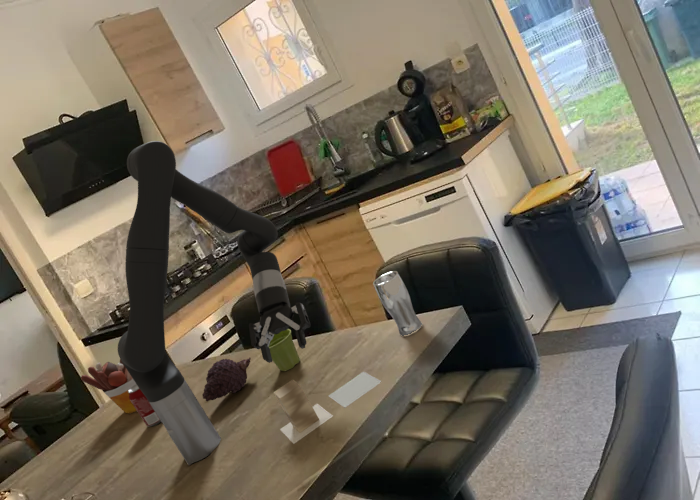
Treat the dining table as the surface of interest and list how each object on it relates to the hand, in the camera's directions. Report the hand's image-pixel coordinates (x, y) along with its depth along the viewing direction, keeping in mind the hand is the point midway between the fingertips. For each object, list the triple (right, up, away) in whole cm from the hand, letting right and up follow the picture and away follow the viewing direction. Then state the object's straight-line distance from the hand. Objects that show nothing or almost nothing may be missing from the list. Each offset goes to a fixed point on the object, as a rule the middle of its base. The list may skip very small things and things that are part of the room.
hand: (285, 354), depth 150 cm
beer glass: (+30, +4, +14) cm, 33 cm away
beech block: (+5, -14, -6) cm, 16 cm away
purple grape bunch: (-17, -16, +31) cm, 39 cm away
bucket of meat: (-52, -26, +61) cm, 84 cm away
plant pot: (-2, -8, +31) cm, 32 cm away
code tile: (+5, -14, -6) cm, 16 cm away
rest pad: (+16, -8, -2) cm, 18 cm away
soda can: (-40, -25, +40) cm, 62 cm away
